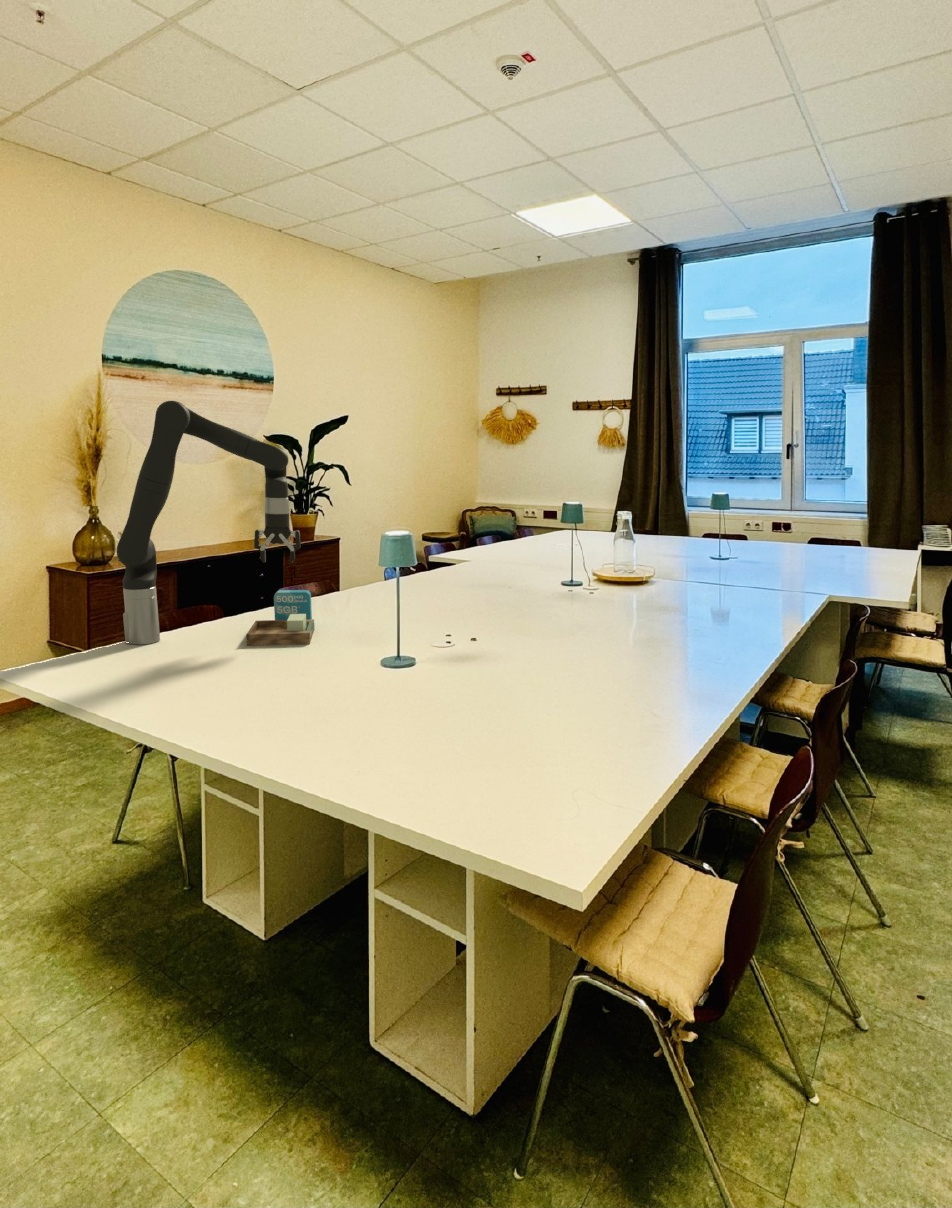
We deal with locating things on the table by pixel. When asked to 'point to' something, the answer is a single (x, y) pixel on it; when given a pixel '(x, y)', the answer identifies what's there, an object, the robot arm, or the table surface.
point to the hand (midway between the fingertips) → (278, 562)
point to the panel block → (296, 622)
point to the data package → (292, 603)
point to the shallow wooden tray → (278, 633)
